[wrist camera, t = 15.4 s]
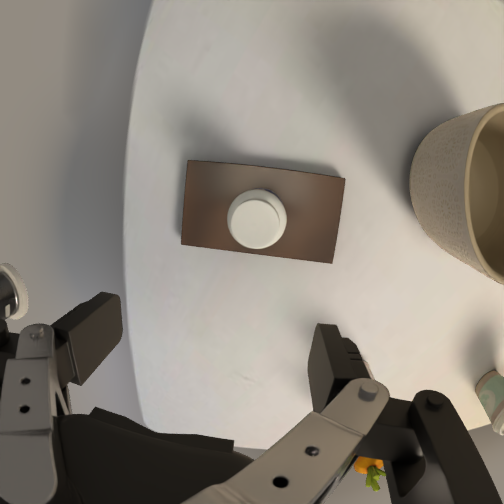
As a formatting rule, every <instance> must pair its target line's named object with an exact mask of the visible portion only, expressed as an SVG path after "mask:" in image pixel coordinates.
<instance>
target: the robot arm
mask: <svg viewBox="0 0 504 504" xmlns="http://www.w3.org/2000/svg"><path fill="white" fill-rule="evenodd" d="M18 310H19V296H18V292H17V289H16V287H15V285H14V283H13V281H12V279H11V278H10V277H9V276H8V275H7V274H6V273H5V272H2V271H0V504H324V503H325V502H326V500H327V499H328V498H329V496H330V495H331V494H332V492H333V491H334V490H335V489H336V487H337V486H338V485H339V483H340V482H341V481H342V479H343V478H344V477H345V476H346V474H347V473H348V472H349V470H350V469H351V468H352V466H353V465H354V463H355V462H356V461H357V459H358V458H359V456H362V457H367V458H372V459H378V460H382V461H383V465H384V470H385V474H386V479H387V483H388V488H389V492H390V498H391V503H392V504H503V503H502V501H501V498H500V496H499V494H498V492H497V489H496V487H495V485H494V483H493V481H492V478H491V476H490V474H489V472H488V470H487V468H486V466H485V464H484V462H483V460H482V458H481V456H480V454H479V452H478V450H477V448H476V446H475V444H474V442H473V441H472V438H471V437H470V435H469V433H468V431H467V429H466V427H465V426H464V424H463V422H462V420H461V418H460V417H459V415H458V413H457V411H456V410H455V408H454V406H453V405H452V403H451V401H450V400H449V399H448V398H447V397H446V396H445V395H443V394H442V393H440V392H437V391H433V390H423V391H420V392H418V393H417V394H416V395H415V397H414V399H413V401H412V402H411V401H405V400H400V399H395V398H391V397H390V394H389V391H388V389H387V388H386V387H385V386H384V385H383V384H381V383H380V382H378V381H376V380H373V379H371V377H370V375H369V372H368V370H367V368H366V366H365V363H364V361H362V357H361V355H360V352H359V350H358V348H357V346H356V344H354V343H353V342H352V341H351V340H350V339H349V338H342V337H341V335H340V332H339V330H338V327H337V325H331V324H319V323H318V324H317V325H316V328H315V332H314V337H313V341H312V346H311V350H310V355H309V359H308V377H309V384H310V390H311V397H312V404H313V411H312V412H310V413H309V414H308V415H307V416H306V417H305V418H304V419H302V420H301V421H300V422H299V423H298V424H297V425H296V426H295V427H294V428H293V429H291V430H290V431H289V432H288V433H287V434H286V435H285V436H283V437H282V438H281V439H280V440H279V441H278V442H276V443H275V444H274V445H273V446H272V447H270V448H269V449H268V450H267V451H266V452H264V453H263V454H262V455H261V456H259V457H258V458H257V459H256V460H254V459H251V458H250V457H248V456H246V455H243V454H241V453H239V452H236V451H233V447H234V440H228V439H221V438H215V437H209V436H203V435H198V434H167V433H157V432H154V431H151V430H150V429H148V428H146V427H143V426H142V425H140V424H138V423H136V422H134V421H132V420H130V419H129V418H127V417H124V416H122V415H118V414H115V413H112V412H109V411H106V410H103V409H100V408H97V407H95V408H94V409H93V410H92V412H91V413H90V414H89V415H85V414H72V409H71V403H70V395H69V389H68V386H67V384H68V383H69V382H72V383H75V384H77V385H80V386H82V384H83V383H84V382H85V381H86V380H87V379H88V378H89V376H90V375H91V374H92V373H93V372H94V371H95V369H96V368H97V367H98V366H99V365H100V364H101V362H102V361H103V360H104V359H105V358H106V357H107V356H108V354H109V353H110V352H111V351H112V350H113V349H114V348H115V346H116V345H117V344H118V343H119V342H120V340H121V337H122V332H123V327H122V315H121V301H120V297H119V296H118V295H116V294H111V293H106V292H100V293H99V294H97V295H96V296H95V297H93V298H92V299H91V300H89V301H87V302H84V303H81V304H79V305H78V306H76V307H75V308H74V309H73V310H71V311H69V312H68V313H67V314H65V315H64V316H63V317H61V318H60V319H58V320H57V321H56V322H54V323H53V324H52V325H50V326H49V325H46V324H33V325H29V326H27V327H25V328H24V329H23V330H22V331H21V332H20V334H17V333H10V332H9V331H8V327H7V323H6V321H5V319H7V318H8V317H10V316H12V315H14V314H16V313H17V312H18Z"/></svg>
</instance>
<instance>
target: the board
mask: <svg viewBox="0 0 504 504" xmlns="http://www.w3.org/2000/svg"><path fill="white" fill-rule="evenodd" d="M344 186H345V178H340V177H334V176H328V175H321V174H315V173H308V172H301V171H294V170H287V169H279V168H271V167H262V166H253V165H243V164H233V163H222V162H209V161H195V160H188V163H187V173H186V184H185V195H184V207H183V221H182V236H181V245H188V246H196V247H204V248H212V249H220V250H228V251H235V252H243V253H251V254H259V255H267V256H275V257H283V258H291V259H299V260H307V261H315V262H322V263H330V264H332V262H333V257H334V251H335V246H336V240H337V234H338V227H339V221H340V215H341V208H342V201H343V194H344ZM255 188H265V189H269V190H271V191H273V192H274V193H276V194H277V195H278V196H279V197H280V199H281V201H282V202H283V205H284V208H285V211H286V216H287V222H286V227H285V230H284V233H283V234H282V236H281V237H280V239H279V240H278V241H277V242H275V243H274V244H272V245H270V246H268V247H266V248H262V249H252V248H248V247H245V246H243V245H241V244H240V243H239V242H237V241H236V240H235V239H234V237H233V236H232V234H231V233H230V231H229V228H228V223H227V215H228V211H229V208H230V206H231V204H232V202H233V201H234V200H235V199H236V198H237V197H238V196H239V195H240V194H242V193H244V192H246V191H248V190H251V189H255Z"/></svg>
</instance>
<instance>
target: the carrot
mask: <svg viewBox="0 0 504 504" xmlns="http://www.w3.org/2000/svg"><path fill="white" fill-rule="evenodd" d="M382 466H384V465H383V461H382V460H378V459H372V458H367V457H362V456H359V458H358V459H357V461H356V462H355V463H354V468H355V471H356V472H359V473H363V474H367V478H366V486H367V487H370V484H371V486H372V488H373V490H374V491H378V490H379V489H380V487H379V485H378V483H377V480H379V476H380V475H382V476H386V474H385V472H384V471H382V470H380V468H381V467H382Z"/></svg>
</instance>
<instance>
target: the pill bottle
mask: <svg viewBox="0 0 504 504" xmlns="http://www.w3.org/2000/svg"><path fill="white" fill-rule="evenodd" d="M286 222H287V216H286V211H285V208H284V205H283V202H282V201H281V199H280V197H279V196H278V195H277V194H276V193H274V192H273V191H271V190H269V189H265V188H255V189H251V190H248V191H246V192H244V193H242V194H240V195H239V196H238V197H237V198H236V199H235V200H234V201H233V202H232V204H231V206H230V208H229V211H228V215H227V223H228V228H229V231H230V233H231V234H232V236H233V237H234V239H235V240H236V241H237V242H239V243H240V244H241V245H243V246H245V247H248V248H252V249H262V248H266V247H268V246H270V245H272V244H274V243H275V242H277V241H278V240H279V239H280V237H281V236H282V234H283V233H284V230H285V227H286Z"/></svg>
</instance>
